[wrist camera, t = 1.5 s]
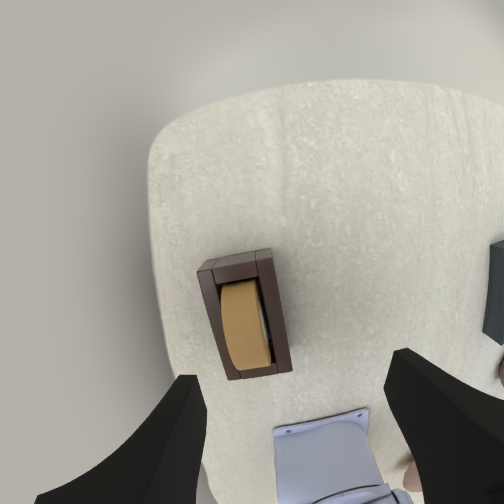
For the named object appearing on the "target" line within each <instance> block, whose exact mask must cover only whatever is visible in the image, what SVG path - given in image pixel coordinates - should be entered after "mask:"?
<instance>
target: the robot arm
mask: <svg viewBox="0 0 504 504" xmlns="http://www.w3.org/2000/svg"><path fill="white" fill-rule="evenodd" d="M383 389H384V392H385V395H386V398H387V401H388V404H389V407H390V409H391V411H392V413H393V415H394V417H395V420H396V422H397V424H398V426H399V428H400V430H401V432H402V434H403V436H404V438H405V440H406V442H407V444H408V446H409V448H410V450H411V453H412V455H413V457H414V460H415V464H416V467H417V470H418V474H419V478H420V482H421V486H422V491H423V496H424V502H425V504H504V400H501V399H498V398H496V397H493V396H490V395H488V394H486V393H483V392H481V391H479V390H477V389H475V388H473V387H471V386H469V385H467V384H465V383H463V382H462V381H460V380H458V379H456V378H455V377H453V376H451V375H450V374H448V373H446V372H445V371H443V370H442V369H440V368H439V367H437V366H435V365H434V364H432V363H431V362H429V361H428V360H426V359H425V358H423V357H422V356H420V355H419V354H417V353H415V352H414V351H412V350H410V349H409V348H404V349H400V350H396V351H394V353H393V357H392V360H391V364H390V368H389V371H388V375H387V378H386V381H385V384H384V388H383ZM358 414H359V415H358ZM368 421H369V410H368V409H367V408H364V409H360V410H357V411H353V412H350V413H346V414H342V415H338V416H334V417H330V418H326V419H322V420H317V421H312V422H307V423H302V424H297V425H291V426H285V427H278V428H275V429H274V430H273V435H274V444H275V458H274V464H275V470H276V485H277V494H278V502H279V504H414V503H413V501H412V499H411V497H410V496H409V494H408V493H407V492H406V491H403V490H400V489H399V488H397V489H394V490H392V491H391V490H390V487H389V485H388V483H386V484H384V482H383V479H382V477H381V474H380V471H379V469H378V466H377V463H376V461H375V458H374V456H373V453H372V450H371V448H370V445H369V443H368V440H367V430H368ZM206 425H207V408H206V405H205V402H204V399H203V395H202V392H201V389H200V385H199V382H198V378H197V375H179V376H178V377H177V379H176V380H175V381H174V383H173V384H172V386H171V387H170V389H169V390H168V391H167V393H166V394H165V396H164V397H163V398H162V400H161V401H160V402H159V404H158V405H157V406H156V408H155V409H154V410H153V411H152V412H151V414H150V415H149V416H148V418H147V419H146V420H145V421H144V422H143V423H142V424H141V425H140V426H139V428H138V429H137V430H136V431H135V432H134V433H133V434H132V435H131V437H129V438H128V439H127V440H126V441H125V442H124V443H123V444H122V445H121V446H120V447H119V448H118V449H117V450H116V451H114V453H112V454H111V455H110V456H108V457H107V458H106V459H105V460H103V461H102V462H101V463H99V464H98V465H97V466H95V467H94V468H92V469H91V470H90V471H88V472H86V473H85V474H83V475H81V476H79V477H78V478H76V479H74V480H72V481H71V482H69V483H67V484H65V485H63V486H60V487H58V488H56V489H53V490H51V491H48V492H45V493H43V494H40V495H38V496H37V498H36V500H35V503H34V504H196V489H197V481H198V476H199V470H200V465H201V459H202V454H203V448H204V442H205V437H206Z"/></svg>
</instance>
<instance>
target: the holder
mask: <svg viewBox="0 0 504 504" xmlns="http://www.w3.org/2000/svg"><path fill="white" fill-rule="evenodd" d="M197 276H198V280H199V284H200V288H201V292H202V295H203V299H204V303H205V306H206V310H207V313H208V317H209V320H210V324H211V327H212V331H213V334H214V337H215V341H216V344H217V347H218V351H219V354H220V357H221V360H222V363H223V367H224V370H225V373H226V376H227V379H228V380H229V381H230V380H238V379H241V378H242V379H248V378H255V377H262V376H268V375H274V374H278V373H285V372H291V371H293V368H292V362H291V357H290V351H289V345H288V339H287V334H286V328H285V323H284V317H283V312H282V306H281V301H280V295H279V290H278V285H277V279H276V274H275V269H274V263H273V258H272V254H271V249H270V248H267V249H262V250H257V251H252V252H247V253H242V254H237V255H231V256H226V257H221V258H219V259H218V258H217V259H212V260H207V261H205V262H204V264H203V265H202V266H201V267H200V268H199V270H198V271H197ZM258 276H259V281H260V285H261V290H262V295H263V300H264V305H265V310H266V314H267V319H268V324H269V329H270V334H271V339H272V342H270V343H269V345H270V353H271V365H270V366H266V367H260V368H253V369H246V370H237V369H236V367H235V366H234V364H233V362H232V359H231V357H230V354H229V351H228V347H227V344H226V339H225V334H224V329H223V322H222V313H221V293H222V288H223V286H224V285H225V283H226V282H231V281H237V280H242V279H248V278H253V277H258Z"/></svg>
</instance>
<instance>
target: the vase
mask: <svg viewBox="0 0 504 504" xmlns="http://www.w3.org/2000/svg"><path fill="white" fill-rule="evenodd" d="M500 379H501V383H502V385H503V387H504V359H503V361H502V364H501V367H500Z"/></svg>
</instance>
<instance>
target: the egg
mask: <svg viewBox="0 0 504 504" xmlns="http://www.w3.org/2000/svg"><path fill="white" fill-rule="evenodd" d="M403 486H404V488H405V489H406V490H408V491H412V492H421V491H422V486H421V482H420V478H419V474H418V470H417V467H416V464H415V460H413V462H412V463H411V464H410V466H409V467H408V469H407V470H406V472H405V474H404V478H403Z"/></svg>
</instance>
